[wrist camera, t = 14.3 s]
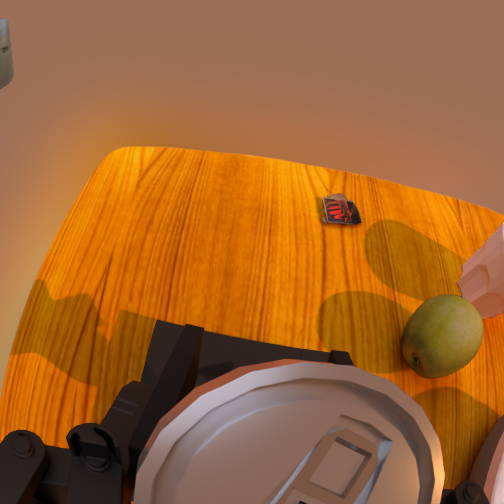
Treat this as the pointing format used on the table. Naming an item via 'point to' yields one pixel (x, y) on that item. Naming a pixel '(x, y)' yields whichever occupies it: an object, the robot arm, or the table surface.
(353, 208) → the matchbox
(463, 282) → the cup
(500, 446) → the bowl
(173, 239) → the table surface
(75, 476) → the robot arm
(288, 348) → the socket pad
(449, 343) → the apple
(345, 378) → the beer can
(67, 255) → the table surface
